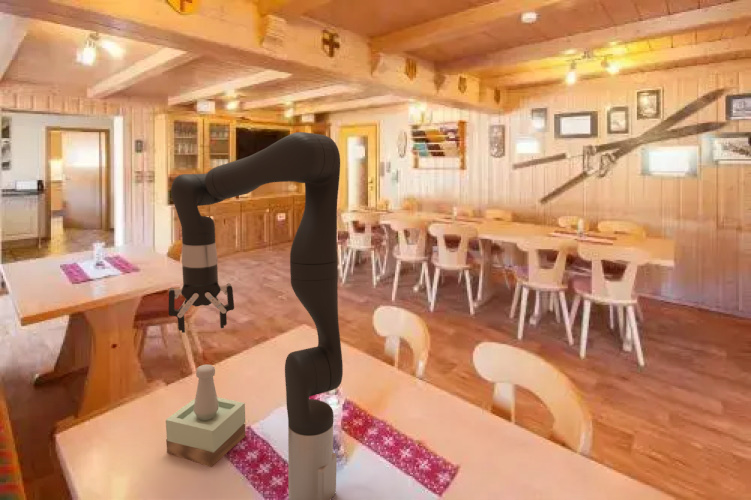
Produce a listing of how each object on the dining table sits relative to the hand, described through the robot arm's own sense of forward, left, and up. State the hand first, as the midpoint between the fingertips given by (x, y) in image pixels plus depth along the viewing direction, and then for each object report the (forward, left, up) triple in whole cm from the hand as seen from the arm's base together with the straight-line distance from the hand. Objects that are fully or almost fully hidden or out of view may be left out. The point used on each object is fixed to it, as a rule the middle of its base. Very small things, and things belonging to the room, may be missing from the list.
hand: (202, 329), depth 109 cm
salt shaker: (0, 0, -23) cm, 23 cm away
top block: (0, 0, -27) cm, 27 cm away
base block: (0, 0, -31) cm, 31 cm away
